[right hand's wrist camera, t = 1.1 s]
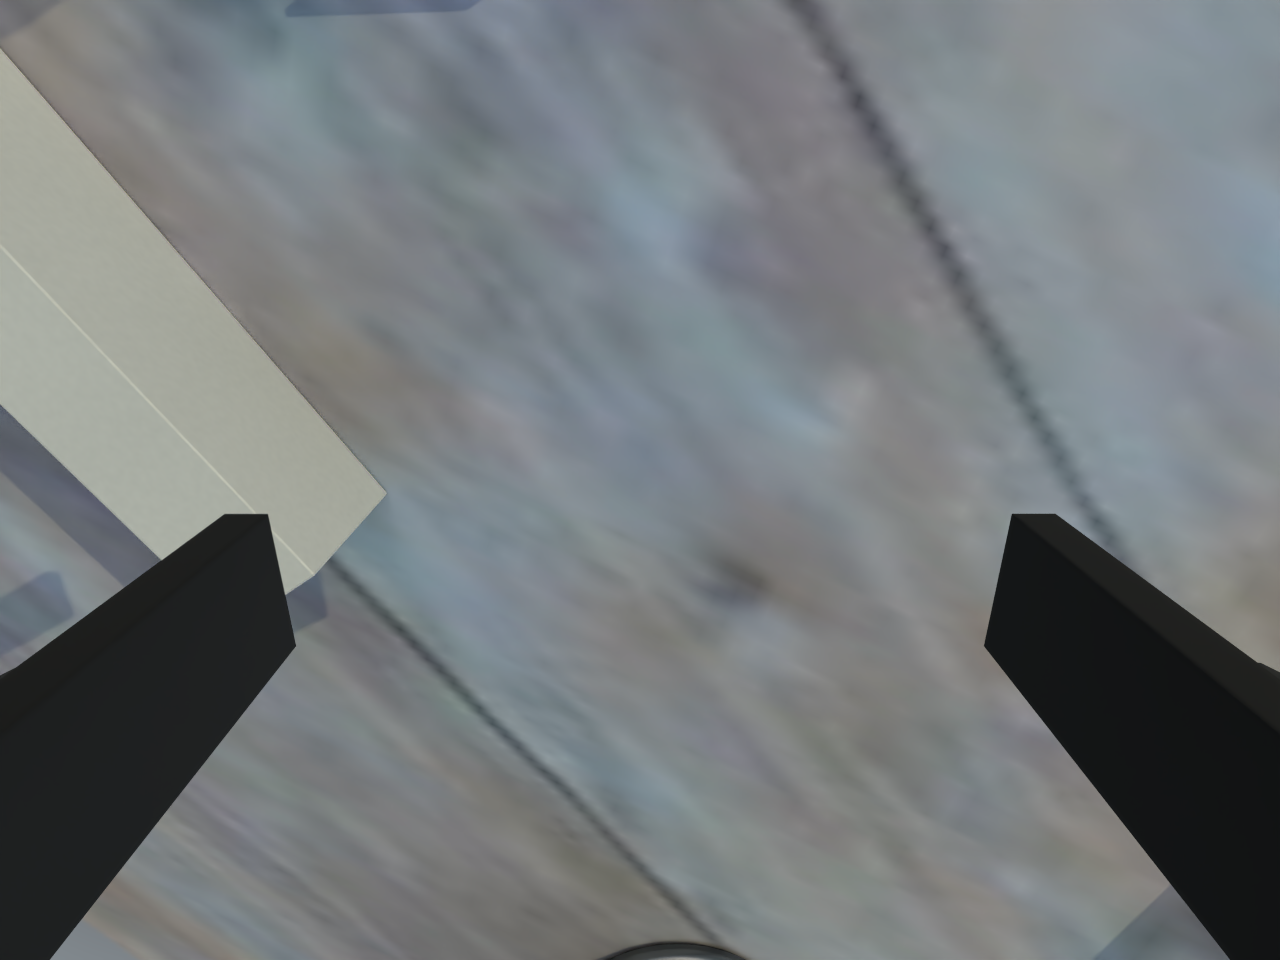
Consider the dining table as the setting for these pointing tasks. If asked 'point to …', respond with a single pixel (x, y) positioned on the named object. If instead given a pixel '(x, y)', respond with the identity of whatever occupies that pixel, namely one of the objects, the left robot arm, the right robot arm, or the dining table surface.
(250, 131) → the dining table surface
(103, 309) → the bar
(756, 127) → the dining table surface
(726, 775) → the dining table surface
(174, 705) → the right robot arm
